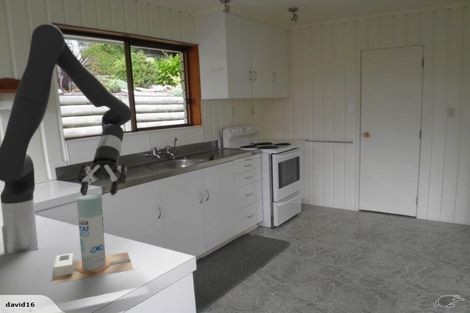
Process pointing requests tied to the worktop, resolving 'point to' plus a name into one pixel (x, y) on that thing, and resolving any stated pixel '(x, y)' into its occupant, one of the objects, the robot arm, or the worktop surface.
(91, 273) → the plywood panel
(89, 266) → the spray paint can
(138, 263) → the worktop surface
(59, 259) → the block
